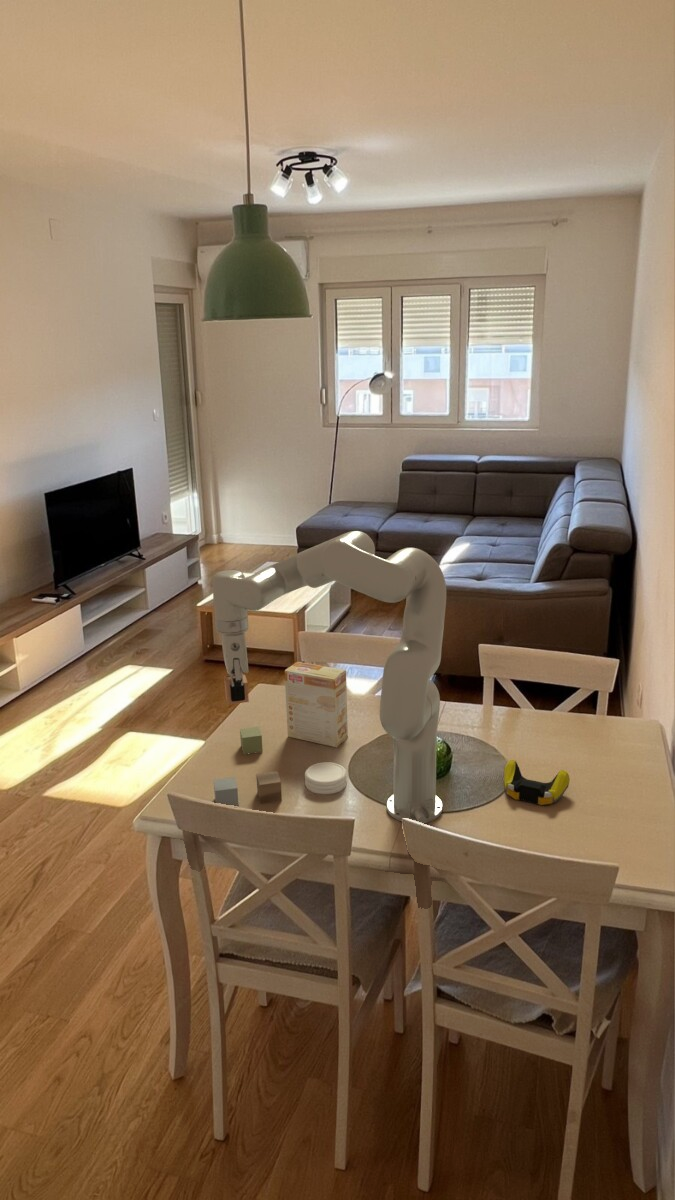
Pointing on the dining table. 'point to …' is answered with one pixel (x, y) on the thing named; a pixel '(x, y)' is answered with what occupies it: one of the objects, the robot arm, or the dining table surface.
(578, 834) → the dining table surface
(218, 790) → the slate-grey block
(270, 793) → the walnut block
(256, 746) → the green cube
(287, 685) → the coffeecake box
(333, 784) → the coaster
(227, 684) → the terracotta block
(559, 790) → the gaming controller
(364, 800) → the dining table surface
